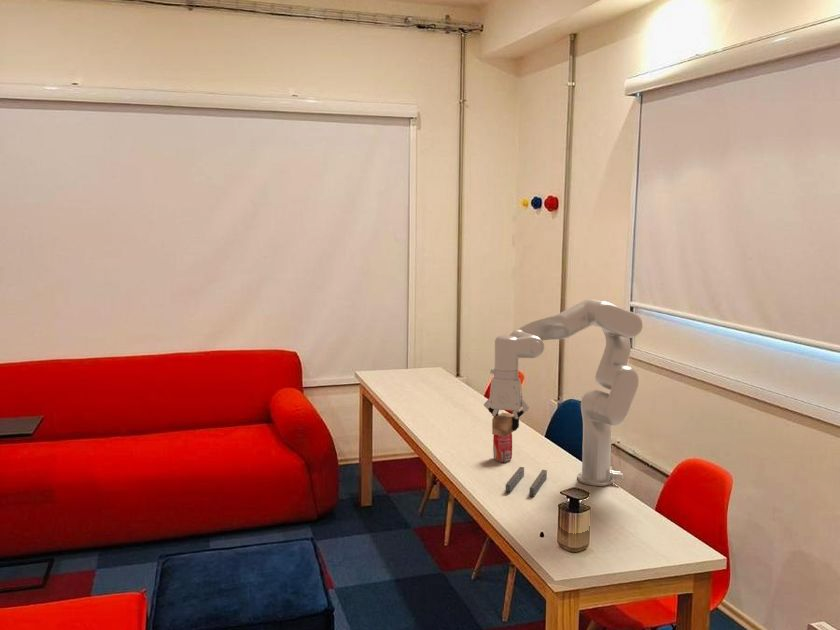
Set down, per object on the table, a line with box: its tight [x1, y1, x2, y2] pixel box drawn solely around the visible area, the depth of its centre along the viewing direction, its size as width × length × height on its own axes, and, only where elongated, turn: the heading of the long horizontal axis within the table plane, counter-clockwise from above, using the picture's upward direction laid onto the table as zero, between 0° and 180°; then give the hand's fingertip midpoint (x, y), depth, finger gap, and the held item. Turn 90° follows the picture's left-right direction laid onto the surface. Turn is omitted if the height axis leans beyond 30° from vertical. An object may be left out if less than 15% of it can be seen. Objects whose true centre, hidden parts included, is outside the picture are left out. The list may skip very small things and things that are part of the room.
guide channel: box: [505, 466, 548, 498], centre depth 256 cm, size 10×18×3 cm, turn 157°
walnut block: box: [491, 412, 515, 436], centre depth 242 cm, size 5×8×5 cm, turn 150°
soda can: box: [492, 432, 513, 463], centre depth 281 cm, size 7×7×12 cm
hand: (506, 428), depth 243 cm, fingers closed on walnut block, 5 cm apart
